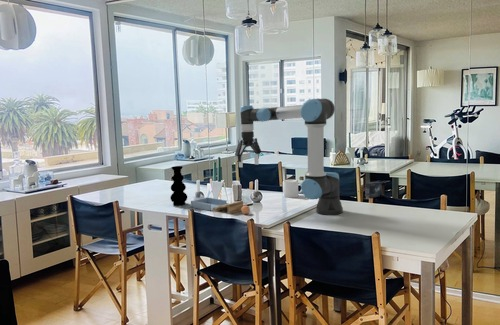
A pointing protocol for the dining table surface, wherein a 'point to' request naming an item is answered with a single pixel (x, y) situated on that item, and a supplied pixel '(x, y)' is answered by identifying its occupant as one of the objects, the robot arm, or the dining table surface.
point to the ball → (245, 209)
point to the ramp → (230, 207)
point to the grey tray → (207, 203)
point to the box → (373, 189)
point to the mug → (290, 188)
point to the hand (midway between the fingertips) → (248, 165)
